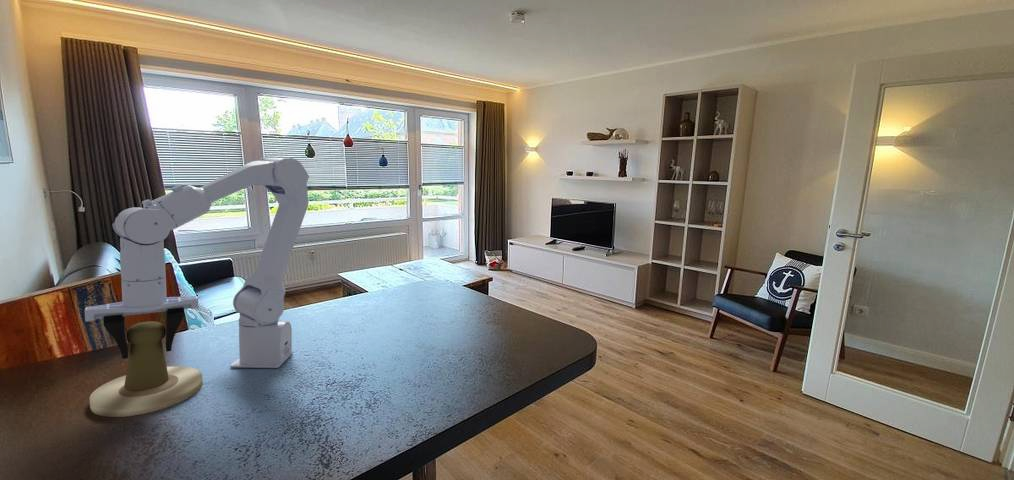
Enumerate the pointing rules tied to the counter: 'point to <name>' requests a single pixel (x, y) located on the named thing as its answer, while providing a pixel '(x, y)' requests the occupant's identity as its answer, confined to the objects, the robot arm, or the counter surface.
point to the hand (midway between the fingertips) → (147, 352)
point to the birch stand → (145, 394)
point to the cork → (146, 356)
